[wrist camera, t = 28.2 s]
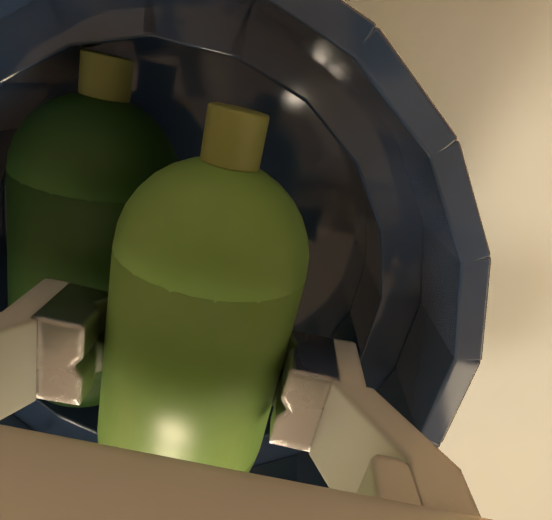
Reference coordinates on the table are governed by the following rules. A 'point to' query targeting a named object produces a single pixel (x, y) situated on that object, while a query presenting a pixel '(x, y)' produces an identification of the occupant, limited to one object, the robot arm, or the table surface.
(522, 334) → the table surface
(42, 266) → the zucchini
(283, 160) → the bowl
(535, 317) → the table surface
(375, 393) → the robot arm
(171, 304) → the pale zucchini
